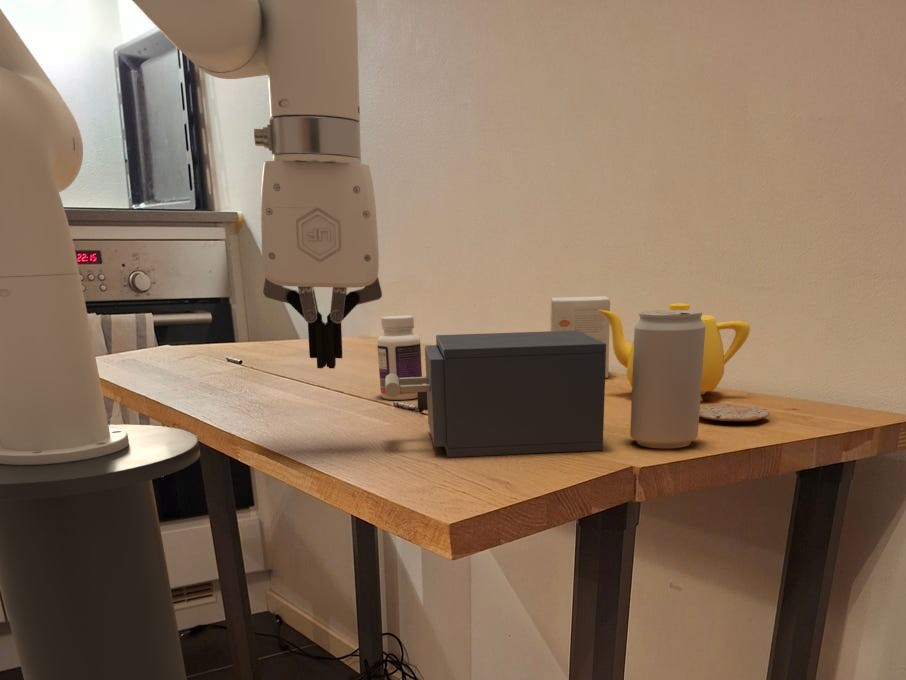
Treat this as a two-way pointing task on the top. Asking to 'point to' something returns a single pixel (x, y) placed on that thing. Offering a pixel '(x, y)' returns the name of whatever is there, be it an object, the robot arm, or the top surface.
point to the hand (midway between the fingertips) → (326, 366)
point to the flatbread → (733, 412)
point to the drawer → (434, 389)
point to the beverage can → (667, 378)
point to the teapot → (712, 346)
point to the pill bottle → (399, 353)
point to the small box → (582, 318)
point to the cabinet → (523, 392)
